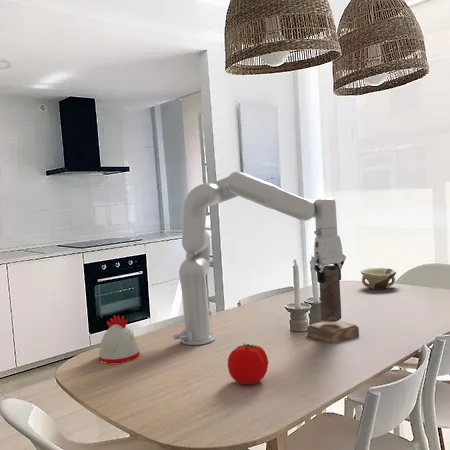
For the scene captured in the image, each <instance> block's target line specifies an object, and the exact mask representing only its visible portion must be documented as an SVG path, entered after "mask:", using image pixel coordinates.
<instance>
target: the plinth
mask: <svg viewBox="0 0 450 450" xmlns="http://www.w3.org/2000/svg"><path fill="white" fill-rule="evenodd" d="M359 328H360V327H359V326H358V325H357V324H354V323H350V322H346V321H344V320H341V319H340V320H338V321H336V322H328V321H327V322H325V321H323V320H322V321H320V322H315V323H311V324H308V326H306V332H307V336H308V337H310V338H313V339H317V340H320V341H323V342H325V343H328V344H335V343H338V342H343V341H346V340H348V339H349V340H350V339H353V338H357V337H359V336H360V329H359ZM356 336H357V337H356Z"/></svg>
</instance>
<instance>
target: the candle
mask: <svg viewBox="0 0 450 450" xmlns="http://www.w3.org/2000/svg"><path fill="white" fill-rule="evenodd" d="M322 272H324V280H325V282H324V283H319V301H320V302H319V303H320V305H319V306H320V322H323V321H325V322H327V321H328V322H336V321H338V320H340V321H341V319H342V302H341V301H342V300H341V298H342V297H341V284H340V283H341V280H340V278H339V268H338V267H336V266H334V265H332V264H330V265H325V266H324V268H323V271H322Z"/></svg>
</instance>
